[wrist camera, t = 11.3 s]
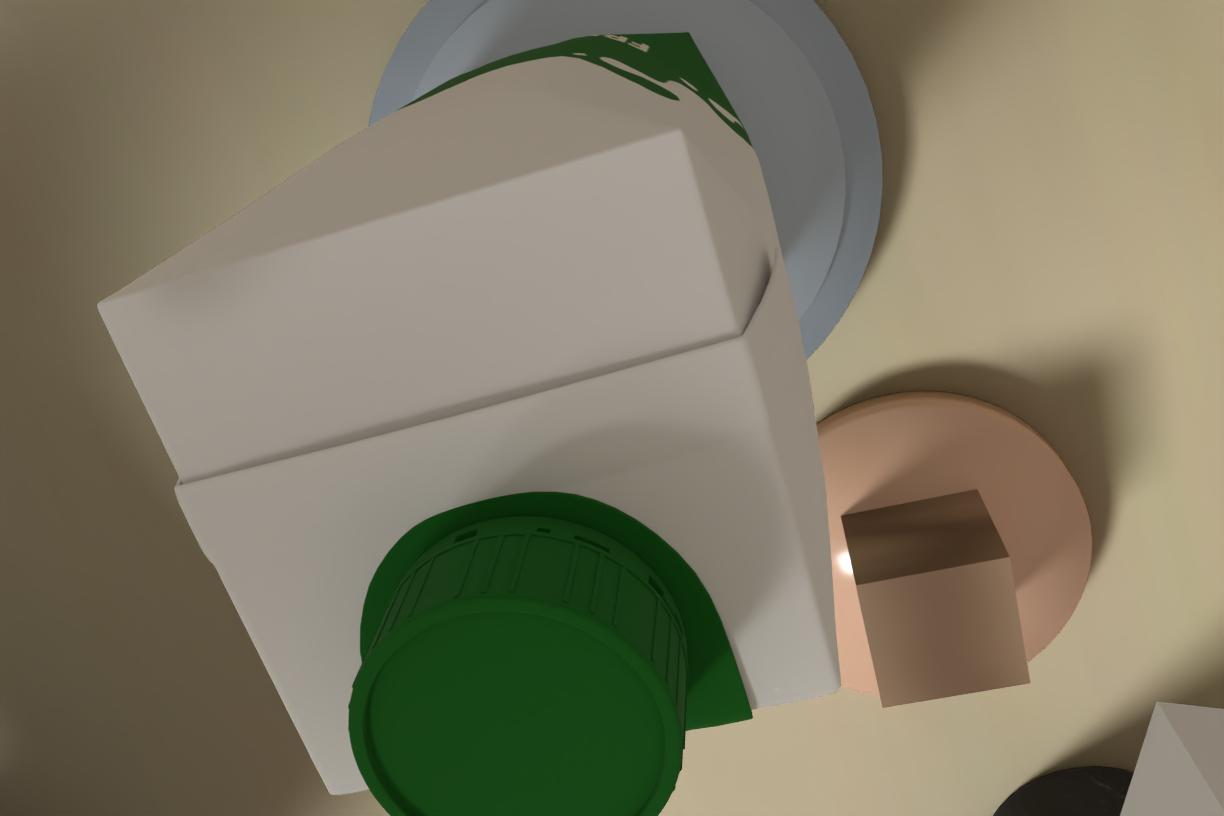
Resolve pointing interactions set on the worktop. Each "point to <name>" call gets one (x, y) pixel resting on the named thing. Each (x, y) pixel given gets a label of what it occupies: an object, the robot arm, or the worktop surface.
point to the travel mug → (1071, 794)
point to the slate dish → (756, 88)
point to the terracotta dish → (946, 464)
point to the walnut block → (936, 598)
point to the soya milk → (506, 436)
